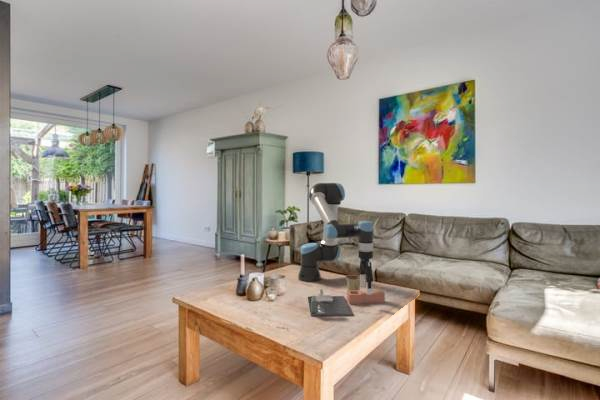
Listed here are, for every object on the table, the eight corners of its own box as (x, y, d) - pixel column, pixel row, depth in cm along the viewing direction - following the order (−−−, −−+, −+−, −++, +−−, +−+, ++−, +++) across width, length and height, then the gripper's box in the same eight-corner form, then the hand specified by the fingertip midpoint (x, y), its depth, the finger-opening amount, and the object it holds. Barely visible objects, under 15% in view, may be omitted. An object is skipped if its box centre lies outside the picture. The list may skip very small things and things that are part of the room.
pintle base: (307, 298, 171) (307, 283, 170) (343, 297, 171) (343, 283, 171) (310, 316, 147) (310, 298, 146) (352, 315, 147) (352, 298, 147)
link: (349, 304, 162) (349, 294, 162) (346, 299, 169) (346, 290, 168) (385, 303, 163) (385, 294, 163) (381, 299, 169) (382, 290, 169)
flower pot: (360, 289, 186) (360, 275, 185) (362, 294, 176) (362, 279, 176) (345, 289, 187) (345, 274, 186) (345, 294, 177) (345, 279, 177)
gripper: (353, 246, 177) (353, 283, 177) (364, 255, 152) (364, 298, 152) (366, 246, 177) (366, 283, 178) (379, 255, 152) (379, 297, 153)
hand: (365, 290), depth 165 cm, fingers open, 13 cm apart
